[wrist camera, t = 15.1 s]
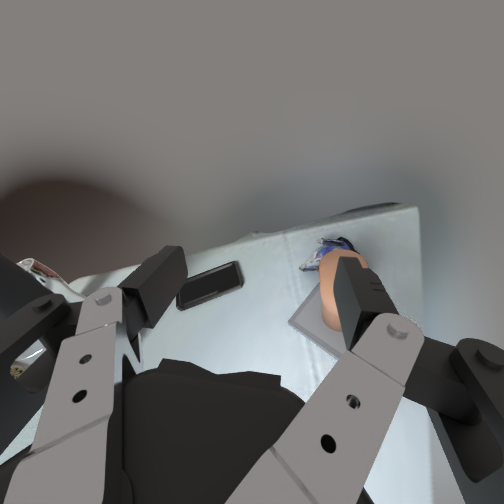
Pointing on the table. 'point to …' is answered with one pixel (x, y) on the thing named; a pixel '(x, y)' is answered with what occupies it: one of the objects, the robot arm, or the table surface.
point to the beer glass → (51, 280)
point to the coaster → (317, 325)
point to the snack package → (326, 251)
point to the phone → (209, 285)
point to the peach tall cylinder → (326, 285)
